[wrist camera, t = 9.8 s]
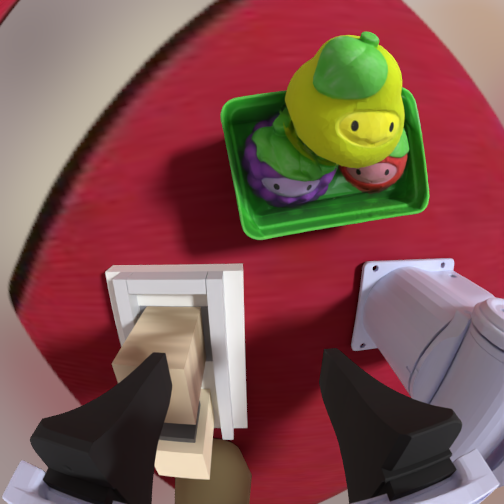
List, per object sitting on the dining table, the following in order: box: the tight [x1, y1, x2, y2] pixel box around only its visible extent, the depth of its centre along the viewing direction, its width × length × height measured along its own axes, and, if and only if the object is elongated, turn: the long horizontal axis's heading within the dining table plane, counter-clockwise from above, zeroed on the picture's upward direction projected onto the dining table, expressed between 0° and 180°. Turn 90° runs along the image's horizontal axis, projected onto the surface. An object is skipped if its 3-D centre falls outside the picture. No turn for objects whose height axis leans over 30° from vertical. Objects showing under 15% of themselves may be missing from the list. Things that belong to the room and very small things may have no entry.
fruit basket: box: [221, 32, 429, 240], centre depth 13 cm, size 11×9×11 cm
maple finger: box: [112, 306, 206, 425], centre depth 17 cm, size 4×5×7 cm
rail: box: [105, 264, 248, 480], centre depth 19 cm, size 10×16×8 cm, turn 1°
